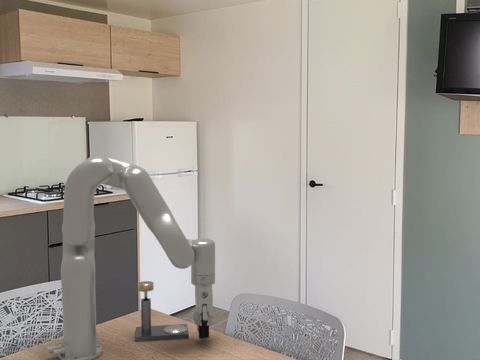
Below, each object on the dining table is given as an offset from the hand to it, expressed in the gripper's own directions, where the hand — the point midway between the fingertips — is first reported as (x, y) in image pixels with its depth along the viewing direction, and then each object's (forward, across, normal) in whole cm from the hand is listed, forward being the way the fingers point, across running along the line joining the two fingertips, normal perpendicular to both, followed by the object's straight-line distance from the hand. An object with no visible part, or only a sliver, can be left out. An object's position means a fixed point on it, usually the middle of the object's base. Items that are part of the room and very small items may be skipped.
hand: (203, 333), depth 169 cm
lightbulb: (+3, 0, 0) cm, 3 cm away
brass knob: (-8, +7, +18) cm, 21 cm away
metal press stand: (+3, +7, +13) cm, 15 cm away
